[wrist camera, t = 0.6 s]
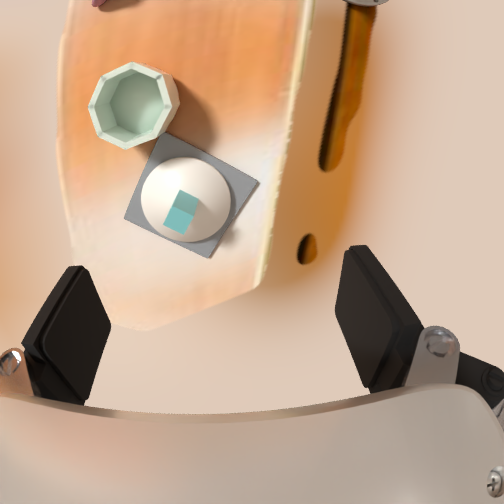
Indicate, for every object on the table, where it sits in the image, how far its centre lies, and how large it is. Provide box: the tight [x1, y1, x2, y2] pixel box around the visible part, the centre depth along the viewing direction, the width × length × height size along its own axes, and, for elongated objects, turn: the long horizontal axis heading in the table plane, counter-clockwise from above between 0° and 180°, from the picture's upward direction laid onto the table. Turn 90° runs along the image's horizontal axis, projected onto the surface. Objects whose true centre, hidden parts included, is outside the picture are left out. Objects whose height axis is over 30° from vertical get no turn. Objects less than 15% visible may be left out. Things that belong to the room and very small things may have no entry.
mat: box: [124, 132, 258, 258], centre depth 40 cm, size 15×15×1 cm
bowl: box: [88, 62, 180, 150], centre depth 30 cm, size 10×10×6 cm
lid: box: [141, 157, 231, 242], centre depth 38 cm, size 13×13×6 cm
